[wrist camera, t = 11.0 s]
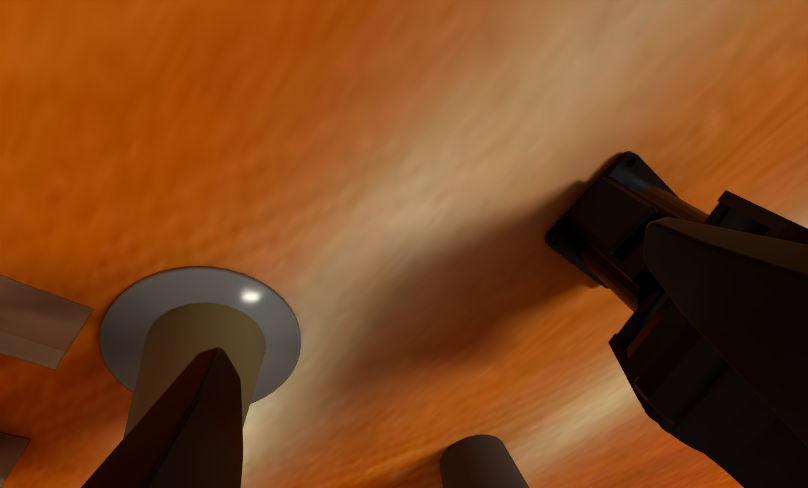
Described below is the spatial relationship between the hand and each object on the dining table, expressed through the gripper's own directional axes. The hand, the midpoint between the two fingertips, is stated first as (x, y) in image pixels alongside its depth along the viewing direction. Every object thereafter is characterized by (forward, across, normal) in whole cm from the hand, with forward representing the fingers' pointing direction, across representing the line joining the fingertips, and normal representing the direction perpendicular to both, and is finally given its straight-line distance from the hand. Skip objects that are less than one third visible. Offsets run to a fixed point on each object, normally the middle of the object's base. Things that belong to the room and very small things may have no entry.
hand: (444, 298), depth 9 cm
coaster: (+13, +11, +9) cm, 20 cm away
